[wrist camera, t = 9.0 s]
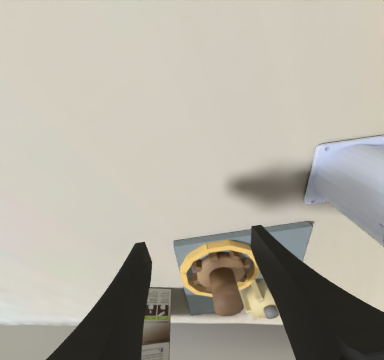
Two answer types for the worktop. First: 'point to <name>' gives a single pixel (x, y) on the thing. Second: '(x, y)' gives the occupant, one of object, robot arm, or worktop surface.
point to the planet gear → (222, 279)
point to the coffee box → (157, 325)
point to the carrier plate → (255, 284)
